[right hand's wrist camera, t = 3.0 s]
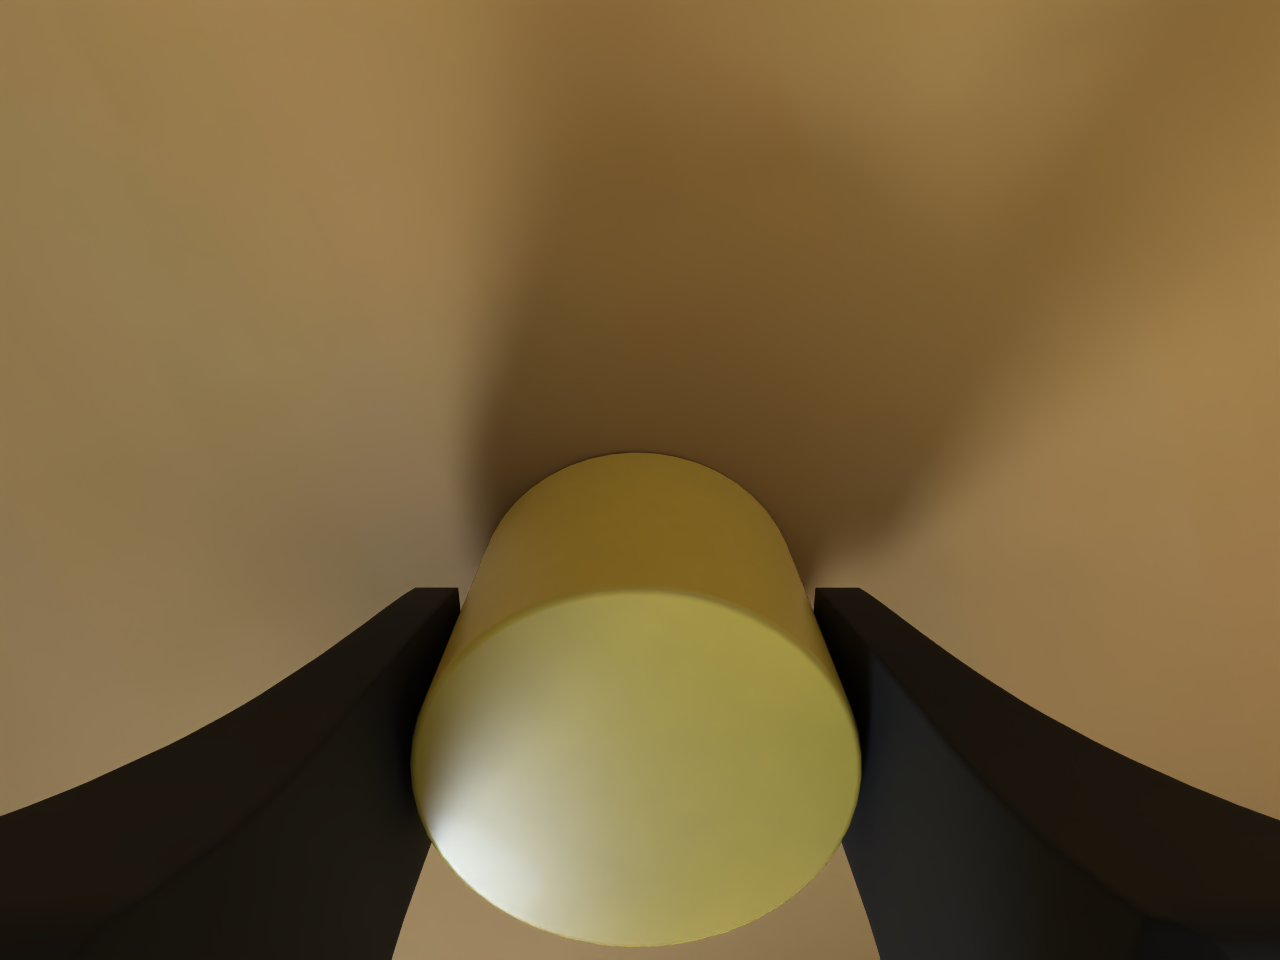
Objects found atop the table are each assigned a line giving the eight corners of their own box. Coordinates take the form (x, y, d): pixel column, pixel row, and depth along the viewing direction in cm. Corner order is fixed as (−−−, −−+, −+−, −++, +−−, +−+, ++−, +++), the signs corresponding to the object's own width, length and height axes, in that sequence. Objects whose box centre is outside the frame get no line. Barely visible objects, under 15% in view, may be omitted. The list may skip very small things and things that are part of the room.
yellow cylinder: (836, 490, 12) (931, 642, 8) (744, 752, 14) (786, 979, 10) (509, 417, 11) (442, 540, 8) (457, 696, 13) (382, 912, 9)
